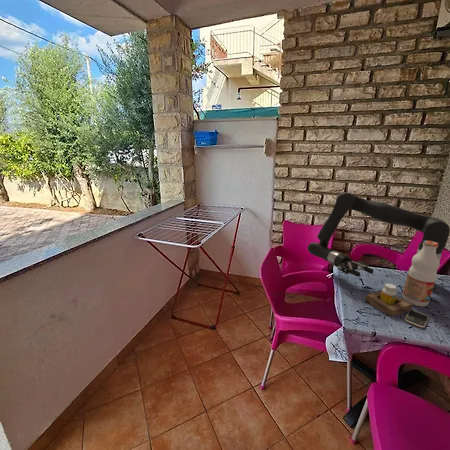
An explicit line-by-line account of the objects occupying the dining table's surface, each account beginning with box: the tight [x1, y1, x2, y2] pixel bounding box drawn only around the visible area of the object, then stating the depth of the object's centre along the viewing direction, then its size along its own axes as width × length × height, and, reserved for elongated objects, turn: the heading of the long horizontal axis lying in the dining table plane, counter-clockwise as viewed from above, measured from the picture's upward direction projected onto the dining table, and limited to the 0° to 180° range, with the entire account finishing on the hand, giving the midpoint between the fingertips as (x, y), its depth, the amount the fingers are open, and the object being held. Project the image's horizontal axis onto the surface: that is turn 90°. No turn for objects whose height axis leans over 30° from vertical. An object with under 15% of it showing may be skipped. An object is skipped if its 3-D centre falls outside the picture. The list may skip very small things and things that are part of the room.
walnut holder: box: [364, 290, 413, 318], centre depth 104 cm, size 12×12×3 cm
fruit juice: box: [401, 241, 441, 307], centre depth 104 cm, size 9×9×28 cm
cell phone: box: [404, 308, 430, 329], centre depth 96 cm, size 6×11×1 cm, turn 132°
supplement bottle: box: [380, 283, 398, 305], centre depth 103 cm, size 5×5×10 cm
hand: (366, 273), depth 113 cm, fingers open, 8 cm apart
